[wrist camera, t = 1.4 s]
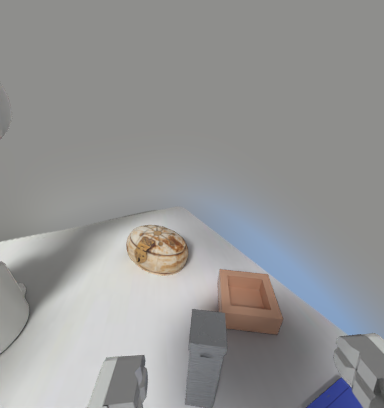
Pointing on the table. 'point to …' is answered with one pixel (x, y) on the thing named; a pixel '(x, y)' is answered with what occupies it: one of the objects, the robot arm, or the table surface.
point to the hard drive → (337, 397)
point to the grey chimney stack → (205, 356)
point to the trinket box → (157, 250)
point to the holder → (248, 302)
